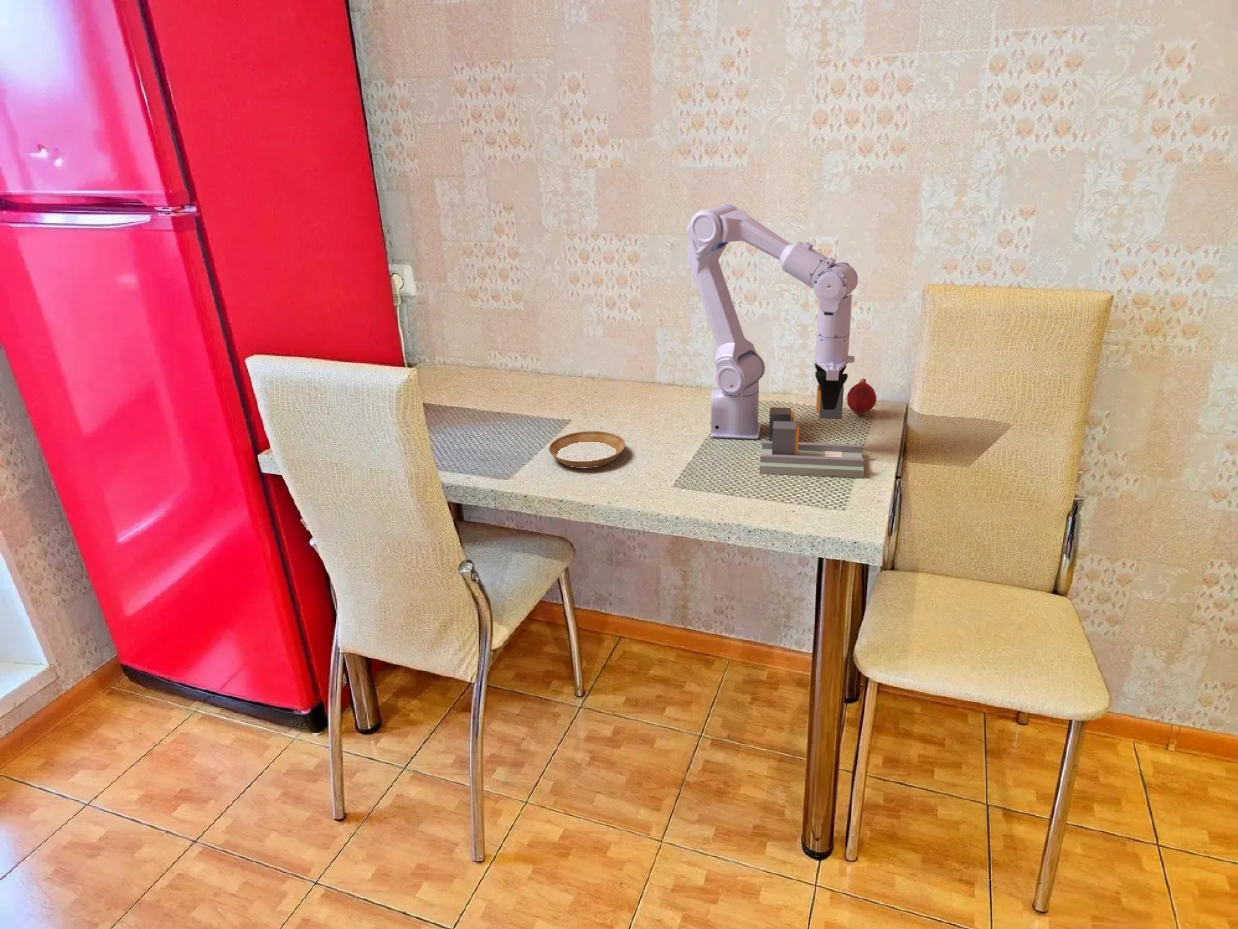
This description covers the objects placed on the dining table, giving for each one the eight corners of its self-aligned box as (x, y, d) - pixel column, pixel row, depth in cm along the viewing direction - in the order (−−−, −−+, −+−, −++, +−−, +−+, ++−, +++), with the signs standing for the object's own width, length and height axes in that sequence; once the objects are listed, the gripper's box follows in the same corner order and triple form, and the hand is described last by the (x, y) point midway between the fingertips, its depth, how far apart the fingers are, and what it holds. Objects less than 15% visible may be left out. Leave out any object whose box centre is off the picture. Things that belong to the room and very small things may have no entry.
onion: (875, 421, 168) (879, 384, 164) (846, 420, 169) (849, 383, 166) (873, 410, 173) (876, 374, 170) (845, 410, 174) (847, 374, 171)
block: (768, 442, 161) (769, 413, 158) (769, 435, 164) (770, 407, 161) (792, 443, 160) (794, 414, 157) (793, 436, 163) (794, 407, 160)
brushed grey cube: (816, 418, 153) (817, 387, 150) (815, 411, 156) (817, 381, 153) (841, 419, 152) (843, 388, 149) (840, 412, 155) (843, 381, 152)
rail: (759, 473, 148) (760, 434, 145) (762, 450, 157) (763, 414, 154) (863, 478, 145) (866, 438, 142) (860, 454, 154) (863, 417, 150)
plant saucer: (533, 461, 158) (532, 449, 157) (585, 436, 168) (585, 424, 167) (589, 481, 149) (588, 468, 148) (641, 453, 159) (640, 441, 158)
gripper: (858, 345, 140) (853, 419, 146) (853, 322, 153) (849, 391, 158) (816, 345, 141) (812, 418, 147) (814, 322, 154) (811, 391, 160)
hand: (828, 404), depth 153 cm, fingers closed on brushed grey cube, 3 cm apart
